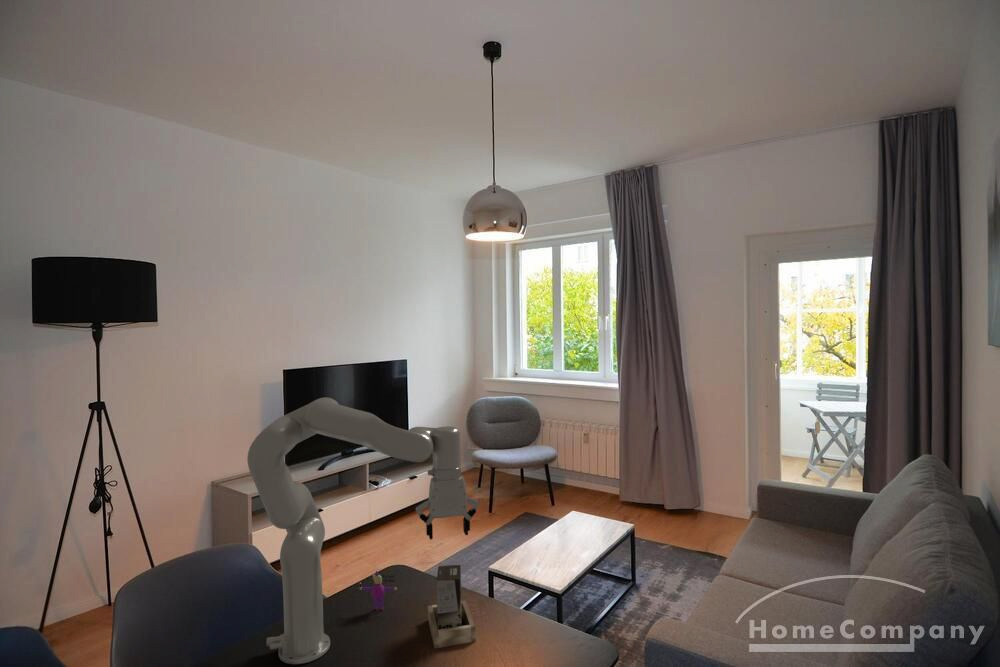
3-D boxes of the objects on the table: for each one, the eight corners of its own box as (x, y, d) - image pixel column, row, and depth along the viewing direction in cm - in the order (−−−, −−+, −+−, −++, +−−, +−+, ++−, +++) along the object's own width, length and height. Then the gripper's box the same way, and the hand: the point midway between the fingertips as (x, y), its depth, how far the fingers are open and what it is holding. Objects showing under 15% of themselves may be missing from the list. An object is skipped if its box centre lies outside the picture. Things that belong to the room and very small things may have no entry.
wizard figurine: (398, 608, 159) (397, 568, 158) (395, 614, 155) (394, 573, 155) (361, 607, 159) (360, 567, 159) (357, 613, 156) (356, 572, 156)
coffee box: (461, 639, 142) (460, 579, 142) (437, 640, 142) (435, 580, 142) (462, 620, 151) (461, 563, 151) (439, 621, 151) (438, 564, 151)
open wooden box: (434, 648, 138) (434, 633, 138) (428, 619, 152) (427, 605, 152) (475, 641, 141) (475, 626, 141) (466, 613, 155) (465, 600, 155)
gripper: (416, 479, 140) (417, 544, 140) (481, 473, 144) (482, 537, 144) (413, 472, 147) (415, 534, 148) (475, 466, 151) (476, 527, 152)
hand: (448, 535), depth 146 cm, fingers open, 9 cm apart
